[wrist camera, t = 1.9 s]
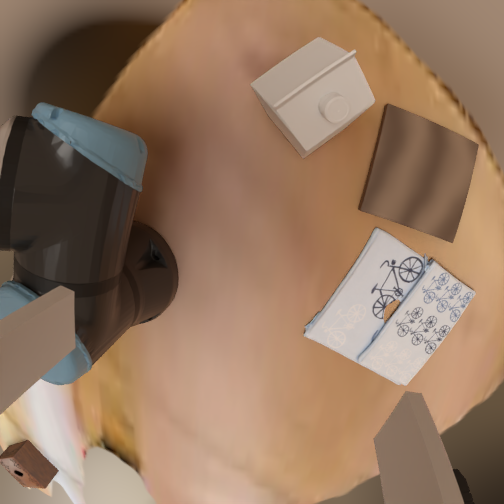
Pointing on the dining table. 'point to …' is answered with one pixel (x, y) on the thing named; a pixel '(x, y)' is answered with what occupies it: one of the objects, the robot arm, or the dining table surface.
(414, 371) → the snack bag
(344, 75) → the milk carton
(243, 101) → the dining table surface
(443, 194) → the walnut board
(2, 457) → the tissue box cover
